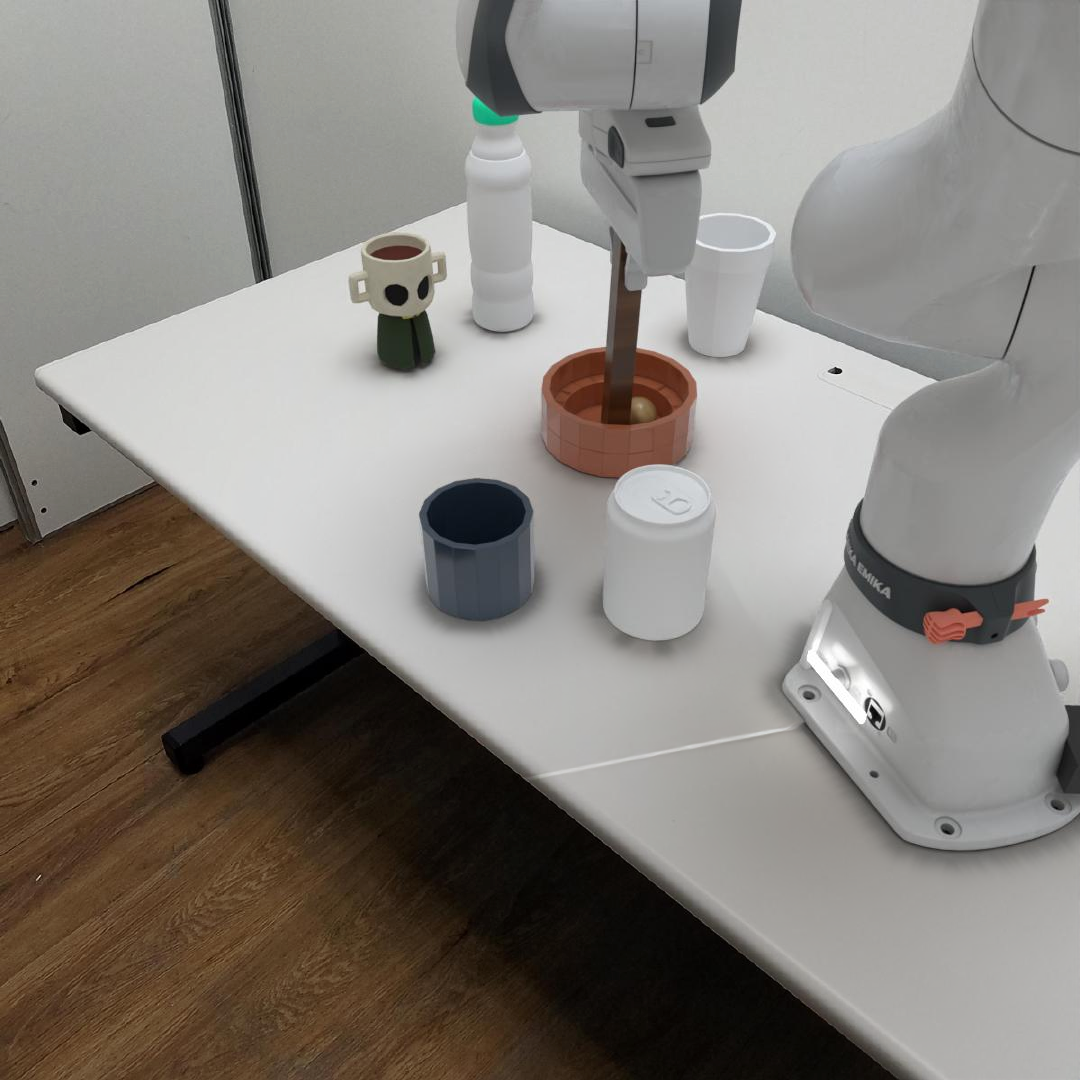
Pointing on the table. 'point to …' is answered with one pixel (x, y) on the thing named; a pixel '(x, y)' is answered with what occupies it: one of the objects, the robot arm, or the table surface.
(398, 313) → the character mug
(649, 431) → the bowl
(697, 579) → the beverage can
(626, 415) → the stick
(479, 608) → the pot
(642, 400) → the bead
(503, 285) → the water bottle
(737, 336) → the foam cup
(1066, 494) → the table surface
